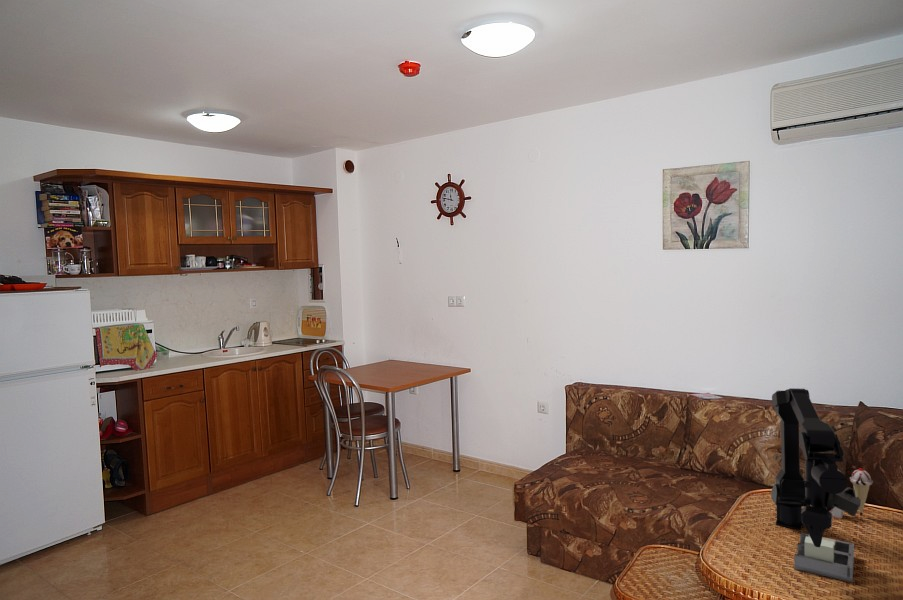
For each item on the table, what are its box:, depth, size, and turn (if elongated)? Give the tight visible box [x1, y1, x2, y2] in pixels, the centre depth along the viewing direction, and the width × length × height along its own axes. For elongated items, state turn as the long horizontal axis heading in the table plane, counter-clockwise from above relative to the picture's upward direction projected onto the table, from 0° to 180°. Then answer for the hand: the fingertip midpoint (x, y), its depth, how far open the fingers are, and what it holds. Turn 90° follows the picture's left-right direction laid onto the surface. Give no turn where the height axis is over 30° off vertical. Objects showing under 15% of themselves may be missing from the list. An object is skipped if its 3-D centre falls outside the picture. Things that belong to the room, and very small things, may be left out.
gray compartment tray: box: [793, 532, 855, 583], centre depth 148 cm, size 12×14×4 cm
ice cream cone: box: [849, 467, 874, 517], centre depth 172 cm, size 6×6×15 cm
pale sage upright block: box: [805, 536, 834, 562], centre depth 145 cm, size 6×4×6 cm, turn 54°
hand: (819, 539), depth 145 cm, fingers open, 9 cm apart
